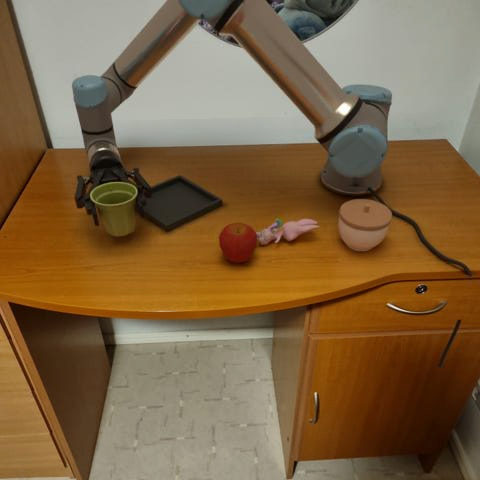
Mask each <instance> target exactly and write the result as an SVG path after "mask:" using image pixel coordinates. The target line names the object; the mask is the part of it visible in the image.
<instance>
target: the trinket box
mask: <svg viewBox="0 0 480 480" xmlns="http://www.w3.org/2000/svg"><path fill="white" fill-rule="evenodd" d="M387 206H388V205H387ZM387 206H385V205H383V204H382V203H380V202H379V201H378V200H377V201H376V200H374V199H368V198H356V199H351V200H348V201H345V202H344V203H343V204H342V205H341V206H340V207H339V211H338V213H339V214H338V223H337V224H338V227H337V228H338V233H339V236H340V238H341V240H342V241H343V242H344V244H345V246H346V247H347V248H348V249H351V250H353V251H356V252H367V251H370V250H372V249H373V248H375V247H377V246H378V245H379V244H381V243H382V241H383V240H384V239H385V237H386V236H387V234H388V231H389V228H390V225H391V223H392V221H393V214H392V213H391V211H390V209H389V208H390V207H389V206H388V207H389V208H388V207H387Z"/></svg>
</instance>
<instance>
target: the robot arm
mask: <svg viewBox="0 0 480 480" xmlns="http://www.w3.org/2000/svg"><path fill="white" fill-rule="evenodd" d="M201 21H203V22H204V21H205V22H206V23H207V24H208V25H209V26H210V27H211V28H212V29H213V30H214V31H215V32H216V33H217V34H218V35H219V36H230V37H232V38H233V39H234V41H236V42H237V43H238V44H239V45H240V47H241V48H242V49H243V50H244V51H245V52H246V53H247V55H248V56H249V57H250V58H251V59H252V60H253V61H254V62H255V63H256V64H257V65H258V66H259V68H261V70H262V71H263V72H264V73H265V74H266V75H267V76H268V77H269V78H270V80H271V81H272V82H273V83H274V84H275V85H276V87H278V88H279V90H281V91H282V93H283V94H284V95H285V96H286V97H287V99H289V100H290V102H292V104H293V105H295V107H296V108H297V109H298V110H299V112H300V113H301V114H303V116H304V117H305V118H306V119H307V120H308V121H309V122H310V123H311V124H312V126H313V127H314V135H313V137H314V139H315V140H316V141H317V142H318V143H319V145H320V146H321V147H322V148H323V149H324V150H325V151H326V152H327V159H326V162H325V163H324V166H323V167H322V170H321V175H320V183H321V184H322V186H323V187H324V188H326V190H328V191H330V192H332V193H334V194H337V195H340V196H345V197H355V198H356V197H365V196H370V195H372V196H373V197H374V198H375V199H376V200H377V202H379V203H382V204H383V205H385V206H387V207H388V208H389V209H390V211H391V213H392V216H393V215H394V216H396V217H397V218H400V219H403V220H404V221H407V222H408V223H410V224H411V225H412V226H413V227H414V228H415V230H416V232H417V235H418V237H419V238H420V240H421V241H422V242H423V243H424V246H426V247H427V248H428V249H429V250H430V251H431V252H432V253H433V254H435V255H436V256H437V257H438V258H440V259H441V260H443V261H445V262H447V263H450V264H453V265H456V266H458V267H461V269H463V270H464V271H465V273H466V275H467V276H468V277H473V274H472V271H471V269H470V268H469V267H468V266H467V265H466V264H465V263H464V262H462V261H459V260H456V259H453V258H451V257H447V256H446V255H444V254H443V253H441V252H440V251H439V250H437V249H436V248H435V247H434V246H433V245H432V244H431V243H430V242H429V241H428V240H427V239H426V237H425V236H424V235H423V231H421V228H420V226H419V225H418V223H417V222H416V221H415V220H414V219H413V218H411V217H410V216H407V215H404V214H402V213H400V212H397V211H396V210H393V209H392V208H391V207H389V206H388V205H387V204H386V202H385V201H384V200H383V199H382V197H380V195H378V193H377V192H378V191H379V190H380V188H381V187H382V182H383V173H382V165H383V163H384V161H385V159H386V156H387V152H388V148H389V141H388V134H389V133H388V125H389V124H388V121H389V115H390V111H391V110H390V109H391V106H392V105H393V104H392V103H393V102H392V100H393V93H392V91H391V90H390V89H388V88H386V87H382V86H378V85H372V84H359V83H358V84H357V83H356V84H350V85H346V86H343V87H342V88H341V86H340V85H339V84H338V83H337V82H336V81H335V80H334V77H332V76H331V75H330V73H328V71H327V70H326V68H324V66H323V65H322V64H321V63H320V61H318V59H316V57H315V56H314V55H313V54H312V53H311V51H310V50H309V49H308V48H307V47H306V45H305V44H304V43H303V42H302V41H301V40H300V39H299V38H298V36H297V35H296V34H295V33H294V31H293V30H292V29H291V28H290V27H289V26H288V24H287V23H286V22H285V21H284V20H283V19H282V17H281V16H280V15H279V13H277V12H276V10H275V9H274V8H273V7H272V6H271V4H270V3H268V1H267V0H166V1H165V2H164V3H163V5H162V6H161V7H160V8H159V9H158V10H157V11H156V12H155V14H154V15H153V16H152V17H151V18H150V20H149V21H148V22H147V23H146V24H145V25H144V27H143V28H142V29H141V30H140V31H139V32H138V33H137V34H136V36H135V37H134V38H133V39H132V40H131V42H129V44H128V45H127V46H126V47H125V48H124V50H123V51H122V52H121V53H120V55H118V56H117V58H116V59H115V60H114V61H113V62H112V64H111V65H109V67H108V68H107V69H106V70H105V71H104V72H103V73H102V74H101V75H100V76H99V75H93V74H87V75H81V76H79V77H76V78H75V79H74V80H73V81H72V82H71V89H72V95H73V99H72V100H73V102H74V105H75V106H74V107H75V110H76V114H77V118H78V122H79V126H80V129H81V130H80V131H81V136H82V139H83V141H82V142H83V145H84V149H85V153H86V157H87V162H88V167H89V168H88V169H89V172H90V174H89V175H88V176H87V177H84V176H82V175H77V176H76V180H77V184H76V188H75V193H74V198H73V199H74V202H75V205H76V208H77V209H78V210H80V209H83V208H85V212H86V215H87V216H92V218H93V223H94V226H95V227H99V226H100V223H99V217H98V213H97V207H96V205H95V203H94V202H93V201H92V200H91V198H90V194H91V192H92V190H93V189H95V188H96V187H98V186H100V185H103V184H106V183H111V182H124V183H129V184H131V185H133V186H135V187H136V189H137V196H136V205H137V208H138V211H139V212H138V214H139V217H140V219H145V217H144V211H143V207H144V206H146V199H145V198H146V197H147V198H151V197H152V194H151V187H152V186H151V185H150V184H149V183H148V181H147V180H146V179H145V178H144V176H143V175H142V174H141V173H140V168H139V167H134V168H132V169H133V170H131V171H128V170H127V169H125V167H124V164H123V161H122V157H121V155H120V152H119V149H118V145H117V140H116V135H115V129H114V123H113V122H114V121H113V117H112V113H113V112H114V111H115V110H116V109H118V108H119V107H120V105H122V104H123V103H124V102H125V101H127V100H128V99H129V98H130V97H131V96H132V95H133V94H134V92H135V91H136V90H137V89H138V87H139V86H141V84H142V83H143V82H144V81H145V80H146V79H147V78H148V77H149V76H150V75H151V74H152V73H153V71H155V70H156V69H157V67H158V66H159V65H160V64H161V63H162V62H163V61H164V60H165V59H166V58H167V57H168V56H169V55H170V54H171V53H172V52H173V51H174V50H175V49H176V48H177V47H178V45H179V44H180V43H182V41H184V40H185V38H186V37H187V36H188V35H189V34H190V33H191V32H192V31H193V30H194V29H195V28H196V27H197V26H198V25H199V23H201ZM90 184H91V186H90V188H89V185H90ZM87 189H88V190H87ZM462 321H463V319H460V318H459V319H457V321H456V323H455V325H454V328H453V330H452V333H451V335H450V337H449V339H448V341H447V344H446V345H445V347H444V350H443V352H442V354H441V357H440V359H439V361H438V364H437V368H442V366H443V363H444V361H445V358H446V356H447V354H448V352H449V350H450V348H451V346H452V343H453V342H454V339H455V337H456V335H457V334H458V331H459V328H460V326H461V323H462Z"/></svg>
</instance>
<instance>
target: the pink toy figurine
mask: <svg viewBox="0 0 480 480" xmlns="http://www.w3.org/2000/svg"><path fill="white" fill-rule="evenodd" d="M274 221H275V222H274V223H272V224H271V225H269V226H267V228H263V229H261V230H260V231H255V233H256V235H257V242H259V245H261V246H266V245H268V244H269V243H271V241H274V244H278V243H279V242H280V240H281V238H283V239H284V240H286V241H288V242H291V241H293V240H295V239H297V238H298V237H300V235H301V234H302V235H303V234H304V233H306V232H310V231H311V230H313V229H319V228H320V227H321V226H320V225H318V221H316V220H314V219H311V218H303V219H302V218H301V219H298V220H297V221H294V220H290V221H287V222H286V223H284V224H283V221H282V219H281V218H275V219H274ZM282 224H283V225H282ZM281 226H282V227H281ZM280 227H281V230H278V229H279V228H280Z"/></svg>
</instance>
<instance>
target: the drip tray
mask: <svg viewBox="0 0 480 480" xmlns="http://www.w3.org/2000/svg"><path fill="white" fill-rule="evenodd" d="M150 187H151V194H152V197H151V198H147V197H146V198H145V199H146V206H144V207H143V211H144V218H146V219H147V220H149V221H150V222H151V223H153V224H154V225H156V226H157V227H159V228H160V229H161V230H163V231H164V232H166V233H169V232H171V231H173V230H175V229H177V228H180V227H181V226H183V225H185V224H188V223H190V222H191V221H194V220H196V219H198V218H200V217H202V216H204V215H206V214H208V213H210V212H213V211H215V210H217V209H219V208H221V207H223V204H224V202H223V199H222V198H220V197H219V196H217V195H215V194H214V193H212V192H210V191H208V190H207V189H206V188H203V187H202V186H200V185H198V184H197V183H194V182H193V181H191V180H190V179H187V178H186V177H185V176H183V175H181V174H178V175H176V176H173V177H171V178H168V179H166V180H163V181H161V182H159V183H156V184H154V185H152V186H150ZM135 212H137V213H139V211H138V208H137V205H136V201H135Z"/></svg>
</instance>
